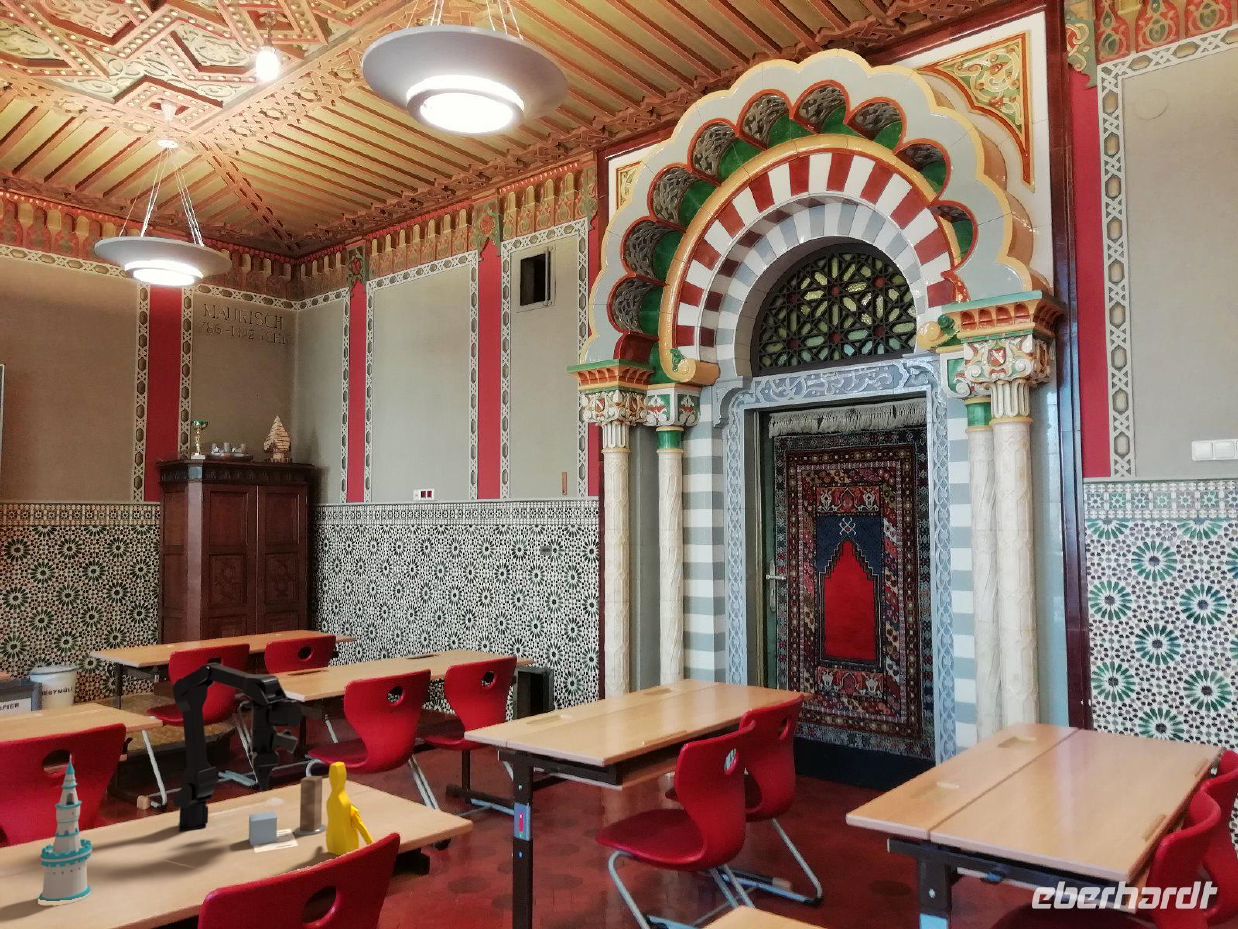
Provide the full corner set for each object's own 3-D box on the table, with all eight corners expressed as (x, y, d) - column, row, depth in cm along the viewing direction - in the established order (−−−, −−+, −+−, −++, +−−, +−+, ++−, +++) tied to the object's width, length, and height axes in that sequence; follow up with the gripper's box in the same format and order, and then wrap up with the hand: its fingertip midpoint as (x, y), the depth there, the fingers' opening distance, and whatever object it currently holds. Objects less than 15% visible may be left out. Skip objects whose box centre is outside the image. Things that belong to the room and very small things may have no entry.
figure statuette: (380, 856, 214) (381, 762, 215) (354, 866, 207) (355, 769, 209) (333, 842, 224) (334, 753, 225) (306, 851, 217) (308, 759, 219)
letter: (255, 853, 216) (255, 852, 216) (249, 835, 229) (249, 834, 229) (298, 846, 221) (298, 845, 221) (290, 829, 234) (290, 828, 234)
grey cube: (250, 846, 221) (251, 821, 221) (248, 839, 226) (249, 814, 226) (276, 842, 223) (276, 817, 224) (273, 835, 229) (274, 811, 229)
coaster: (296, 838, 227) (296, 835, 227) (292, 829, 234) (292, 826, 234) (328, 833, 231) (328, 830, 231) (323, 824, 238) (323, 822, 238)
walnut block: (299, 831, 231) (300, 780, 232) (307, 826, 235) (308, 775, 236) (314, 831, 230) (315, 780, 231) (321, 826, 234) (322, 776, 235)
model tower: (86, 884, 198) (91, 747, 200) (95, 897, 190) (101, 754, 193) (33, 896, 191) (39, 754, 194) (41, 910, 183) (47, 762, 186)
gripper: (300, 728, 227) (299, 791, 226) (291, 716, 243) (289, 774, 242) (254, 733, 222) (252, 797, 220) (247, 720, 238) (245, 779, 237)
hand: (261, 786), depth 230 cm, fingers open, 9 cm apart
